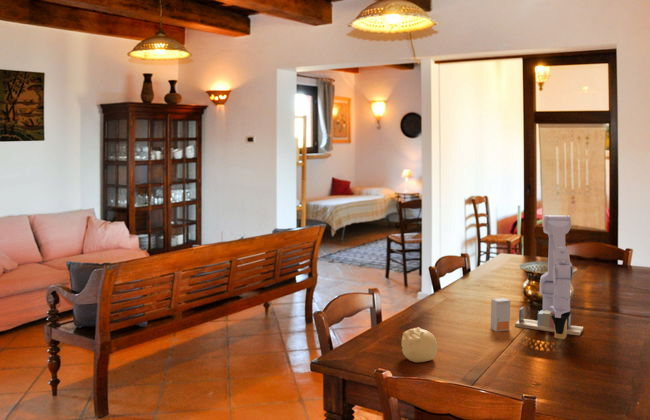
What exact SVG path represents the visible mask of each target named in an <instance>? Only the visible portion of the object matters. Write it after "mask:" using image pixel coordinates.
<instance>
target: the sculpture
mask: <svg viewBox="0 0 650 420" xmlns="http://www.w3.org/2000/svg"><path fill="white" fill-rule="evenodd" d="M400 341H401V347H402V349H401V351H402V353H403V355H404V357H405V358H406V359H407V360H409V361H410V362H413V363H424V362H428V361H432V360H434V359H435V357H436V355H437V351H438V343H437V339H436V337H435V336H434V334H433V333H431V331H429V330H426V329H423V328H421V327H419V326H417V327H414V328H410V329H407V330H405V331H403V333H402V337H401V340H400Z"/></svg>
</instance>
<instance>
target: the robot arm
mask: <svg viewBox="0 0 650 420" xmlns="http://www.w3.org/2000/svg"><path fill="white" fill-rule="evenodd" d="M542 222H543V226H542V230H543V234H546V235H548V250H547V251H548V255H547V258H548V259H547V272H545V273H543V274H542V275H541V276H540V278H539V294H540V295H542V309H541V310H542V311H545V310H550V311H552V312H553V313H555V314H552V315H551V317H552V319H553V321H554V324H555V330H556V334H563V330H564V325H565V322H566V320H567V321H568V318H569V316H570V314H571V315H572V311H571V289H572V288H571V287H572V286H571V285H572V280H573V277H574V269H573V264H572V261H571V258H570V251H569V250H570V249H568V248H566V234H568V233H569V231H571V227H572V219H571V216H570V215H569V214H567V215H562V214H561V215H558V214H557V215H555V214H554V215H553V214H545V215H544V216H543V221H542Z"/></svg>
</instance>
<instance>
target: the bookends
mask: <svg viewBox="0 0 650 420" xmlns="http://www.w3.org/2000/svg"><path fill="white" fill-rule="evenodd" d="M518 316H519V317H518V320H519V323H521V322H522V321H523V320H524V319H525V306H522V307H520V308H519V314H518ZM571 319H572V313H571V314H570V316H569V318H568V321H567V330H568V329H569V328H570V326H571V325H572V324H571V323H572V322H571V321H572V320H571Z"/></svg>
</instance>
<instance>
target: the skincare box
mask: <svg viewBox="0 0 650 420" xmlns="http://www.w3.org/2000/svg"><path fill="white" fill-rule="evenodd" d="M490 303H491V304H490V329H491V330H492V331H495V332H503V331H504V332H505V331H510V317H511V300H510V299H508V298H506V297H502V298H501V297H499V298H491V301H490Z"/></svg>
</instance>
